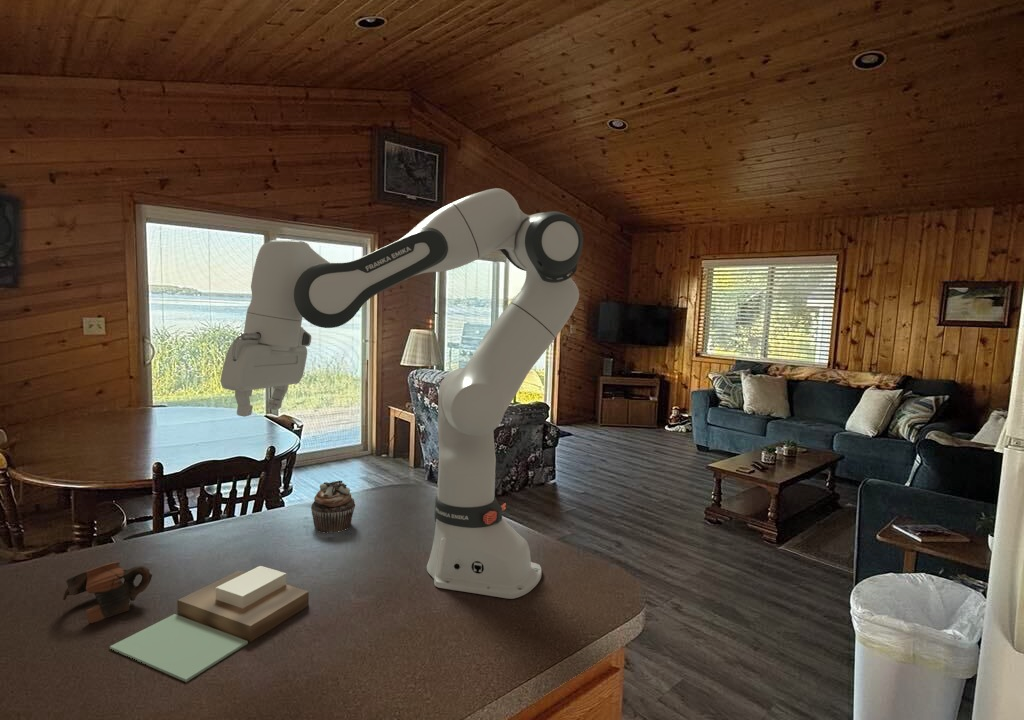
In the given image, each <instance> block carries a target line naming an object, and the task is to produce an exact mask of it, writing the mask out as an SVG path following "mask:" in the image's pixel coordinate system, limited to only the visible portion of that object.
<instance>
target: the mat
mask: <svg viewBox="0 0 1024 720" xmlns="http://www.w3.org/2000/svg"><path fill="white" fill-rule="evenodd" d="M248 642H249V641H246V640H244V639H241V638H238V637H236V636H233V635H230V634H228V633H225V632H222V631H220V630H217V629H214V628H212V627H209V626H206V625H203V624H201V623H198V622H195V621H193V620H190V619H187V618H185V617H182V616H179V615H178V614H175V613H174V614H172V615H169V616H168V617H166V618H164V619H161V620H160V621H158V622H156V623H154V624H152V625H150V626H148V627H146V628H144V629H142V630H140V631H137V632H135V633H134V634H132V635H130V636H128V637H126V638H124V639H121V640H120V641H117V642H116V643H113V644H112V645H110V646H109V649H110V650H111V649H112V650H111V651H113V650H114V652H115V653H118V652H119V653H118V654H121V655H123V656H126V657H127V656H128V657H127V658H129V657H130V659H132V658H133V659H132V660H134V659H135V660H134V661H136V660H137V661H136V662H139V663H141V662H142V663H141V664H143V665H145V664H146V665H145V666H148V667H150V668H153V669H155V670H157V671H160V672H161V673H163V674H166V675H168V676H171V677H173V678H176V679H178V680H180V681H183V682H185V683H188V682H189V681H191V680H193V678H196V677H197V676H199V675H200V674H202V673H203V672H205V671H206V670H208V669H210V668H211V667H213V666H215V665H217V664H218V663H220V661H223V660H224V659H225V658H226V659H227V657H229V656H230V655H232V654H233V653H235V652H237V651H239V650H240V649H242V648H244V647H245V646H247V645H248Z"/></svg>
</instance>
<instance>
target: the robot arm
mask: <svg viewBox="0 0 1024 720" xmlns="http://www.w3.org/2000/svg"><path fill="white" fill-rule="evenodd" d="M583 247H584V234H583V230H582V228H581V226H580V225H579V224H578V222H577V221H576V220H575V219H574V218H573V217H571V216H570V215H568V214H566V213H563V212H560V211H556V210H555V211H546V212H538V213H533V214H526V213H525V212H524V211H522V210H521V209H520V206H519V204H518V201H517V200H516V198H515V197H514V196H513V195H512V194H511V193H510V192H509V191H507V190H505V189H504V188H503V189H502V188H500V187H499V188H496V187H495V188H489V189H486V190H482V191H479V192H475V193H472V194H469V195H466V196H465V197H462V198H460V199H457V200H455V201H452V202H451V203H448V204H447V205H444V206H442V207H441V208H439V209H437V210H436V211H434V212H433V213H431V214H429V215H428V216H426V217H425V218H424V219H422V220H421V221H420V222H419V223H418V224H417V225H415V226H413V228H412V229H411V230H409V232H407V233H406V234H405V235H403V236H402V237H401V238H399V239H398V240H395V241H394V242H392V243H389V244H388V245H385V246H383V247H381V248H378V249H377V250H375V251H372V252H369V253H368V254H365V255H364V256H361V257H359V258H356V259H354V260H351V261H347V262H330V261H328V260H327V259H325V258H324V257H323V256H321V255H320V254H319V253H317V252H316V251H315V250H314V249H313V247H311V246H310V244H309V243H307V242H305V241H301V240H295V239H286V238H285V239H284V238H283V239H277V238H276V239H271V240H268V241H267V242H265V243H264V244H262V245H261V247H260V248H259V250H258V253H257V256H256V259H255V263H254V266H253V267H254V268H253V273H252V276H251V282H250V283H251V284H250V289H251V290H250V291H251V300H250V303H249V305H248V307H247V310H246V315H245V322H244V327H243V328H244V329H243V331H242V332H240V333H239V335H238V336H237V337H236V338H235V339H234V340H233V342H232V343H231V344H230V345H229V347H228V349H227V352H226V355H225V359H224V362H223V367H222V371H221V376H220V385H221V387H222V388H223V389H225V390H230V391H235V392H234V397H235V400H236V404H237V409H236V415H237V416H239V417H248V416H251V415H252V413H253V409H254V408H253V407H254V406H253V405H251V400H250V399H251V398H250V397H252V396H253V395H252V394H253V391H255V390H261V389H268V388H273V393H272V394H271V395H272V396H271V398H268V404H267V407H268V409H269V410H273V411H276V410H281V408H282V404H283V400H284V398H285V397H286V394H287V392H288V391H289V390H288V389H289V386H290V385H296V384H299V383H300V382H301V380H302V378H303V376H304V373H305V367H306V362H307V358H308V348H307V347H310V346H311V343H312V335H311V334H310V333H309V332H307V331H306V330H305V328H304V327H302V323H303V319H304V320H305V321H307V322H308V323H310V324H311V325H314V326H315V327H319V328H323V329H331V328H333V329H334V328H338V327H341V326H343V325H345V324H346V323H348V322H350V321H351V320H352V319H353V318H354V317H355V316H356V315H357V313H358V312H359V311H360V310H361V308H362V307H363V306H364V304H365V303H366V302H368V301H369V300H371V298H373V297H374V296H377V295H378V294H380V293H382V292H385V291H386V290H388V289H390V288H392V287H394V286H396V285H398V284H400V283H402V282H404V281H406V280H408V279H410V278H412V277H415V276H419V275H421V274H422V275H423V274H427V273H442V272H443V273H444V272H447V271H451V270H454V269H458V268H461V267H463V266H466V265H468V264H471V263H473V262H474V261H477V260H479V259H481V258H483V257H485V256H487V255H488V254H490V253H493V252H495V251H500V252H502V254H503V255H504V256H505V258H506V259H508V261H509V263H510V264H512V265H513V266H514V267H516V268H517V269H519V270H521V271H525V274H526V275H525V280H524V283H523V285H522V287H521V288H520V291H519V292H518V293H517V294H516V295H515V296H514V297H513V299H512V301H510V303H508V305H507V306H506V308H505V309H504V310H503V312H502V313H501V314H500V315H499V317H498V318H497V319H496V320H495V322H494V323H492V325H491V327H489V329H488V330H487V332H486V333H485V334H484V336H483V338H482V340H480V341H481V342H480V343H479V344H478V345H477V348H476V350H475V351H474V353H473V354H472V356H471V357H470V359H469V360H468V362H467V363H466V365H465V366H464V367H460V368H456V369H454V370H452V371H450V372H449V373H448V374H446V376H444V378H443V379H442V381H441V383H440V385H439V388H438V397H437V398H438V399H437V400H438V402H437V403H438V404H437V405H438V407H437V410H438V411H437V412H438V413H437V415H438V416H437V418H438V419H437V422H438V423H437V424H438V425H437V427H438V429H437V432H438V436H437V438H438V468H437V470H438V471H437V472H438V473H437V477H438V478H437V495H436V496H435V498H434V499H435V502H434V521H435V529H434V536H433V542H432V547H431V551H430V555H429V559H428V562H427V564H426V571H427V573H428V574H429V575H430V576H431V577H432V579H433V581H434V582H433V583H434V587H437V588H439V589H444V590H451V591H458V592H465V593H471V594H478V595H484V596H489V597H497V598H502V599H509V600H510V599H511V600H513V599H517V598H520V597H522V596H523V597H524V596H525V595H526V594H528V593H529V592H531V591H532V590H533V589H534V588H535V587H536V586H537V585H538V584H539V582H540V580H541V578H542V575H543V574H542V567H541V565H540V564H539V563H536V562H532V560H531V559H532V558H531V550H530V546H529V543H528V542H527V540H526V539H525V538H524V537H523V536H521V534H519V533H518V531H516V530H515V529H514V528H513V527H512V526H511V525H510V524H509V523H508V522H507V521H506V520H505V519H504V518H503V512H504V511H505V510H506V509H507V508H506V506H507V503H506V502H505V503H503V504H502V505H500V503H499V502H498V501H497V498H496V496H495V491H496V489H495V488H496V487H495V486H496V466H497V465H496V464H497V457H496V450H495V449H496V448H495V436H494V435H495V434H494V431H495V430H496V428H498V427H499V425H500V424H501V422H502V421H503V418H504V415H505V413H506V412H507V409H509V406H510V405H511V403H512V401H513V400H514V399H515V397H516V395H517V393H518V391H519V390H520V388H521V386H522V384H523V383H524V381H525V379H526V378H527V375H528V374H529V373H530V371H531V370H532V368H533V367H534V366H535V365H536V363H537V362H538V360H539V359H540V358H541V357H542V356H543V354H545V352H546V351H547V349H549V347H550V345H552V343H553V342H554V340H555V339H556V337H558V335H559V333H561V331H562V330H563V328H564V326H565V325H566V323H567V322H568V321H569V319H570V318H571V316H572V314H573V312H574V310H575V308H576V307H577V304H578V302H579V300H580V291H579V288H578V286H577V284H576V283H575V281H574V280H573V278H572V277H573V276H574V275H575V274H576V272H577V268H578V263H579V259H580V256H581V255H582V250H583ZM570 273H571V274H570Z"/></svg>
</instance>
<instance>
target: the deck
mask: <svg viewBox="0 0 1024 720" xmlns="http://www.w3.org/2000/svg"><path fill="white" fill-rule="evenodd" d="M246 572H247V571H244V570H237V571H235V572H233V573H231V574H229V575H226V576H225V577H222V578H221V579H219V580H216V581H214V582H212V583H210V584H208V585H206V586H204V587H202V588H199V589H197V590H196V591H194V592H193V591H192V592H191V593H189V594H187V595H185V596H183V597H181V598H178V599H177V600H176V601H177V603H176V604H177V615H179V616H181V617H184V618H187V619H190V620H192V621H195V622H198V623H200V624H203V625H206V626H208V627H211V628H214V629H216V630H219V631H222V632H224V633H227V634H230V635H233V636H235V637H238V638H241V639H243V640H246V641H248V642H250V643H251V642H253V641H255V640H256V639H258V638H260V637H261V636H263V635H264V634H265V633H267V632H269V631H271V630H272V629H274V628H275V627H277V626H278V625H280V624H282V623H283V622H285V621H286V620H287V619H289V618H291V617H293V616H295V614H296V615H297V613H299V612H301V611H302V610H303V609H305V608H307V607H308V606H309V600H310V599H309V594H310V591H308V590H306V589H303V588H300V587H296V586H292V585H289V584H286V585H284V586H283V587H281V588H279V589H277V590H275V591H274V592H272V593H270V594H268V595H266V596H265V597H263V598H261V599H259V600H257V601H255V602H254V603H252V604H250V605H248V606H246V607H245V608H240V607H237V606H234V605H231V604H228V603H225V602H222V601H219V600H216V587H218V586H220V585H222V584H224V583H226V582H228V581H230V580H232V579H234V578H236V577H238V576H240V575H242V574H244V573H246Z"/></svg>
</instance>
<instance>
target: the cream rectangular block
mask: <svg viewBox="0 0 1024 720" xmlns="http://www.w3.org/2000/svg"><path fill="white" fill-rule="evenodd" d="M245 572H246V573H244V574H242V575H240V576H238V577H236V578H234V579H232V580H230V581H228V582H226V583H224V584H222V585H220V586H218V587H216V600H219V601H222V602H225V603H228V604H231V605H234V606H237V607H240V608H245V607H246V606H248V605H250V604H252V603H254V602H255V601H257V600H259V599H261V598H263V597H265V596H266V595H268V594H270V593H272V592H274V591H275V590H277V589H279V588H281V587H283V586H284V585H287V573H286V572H284V571H280V570H278V569H277V570H276V569H273V568H270V567H266V566H263V565H258V566H257V567H254V568H253V569H251V570H248V571H245Z"/></svg>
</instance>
